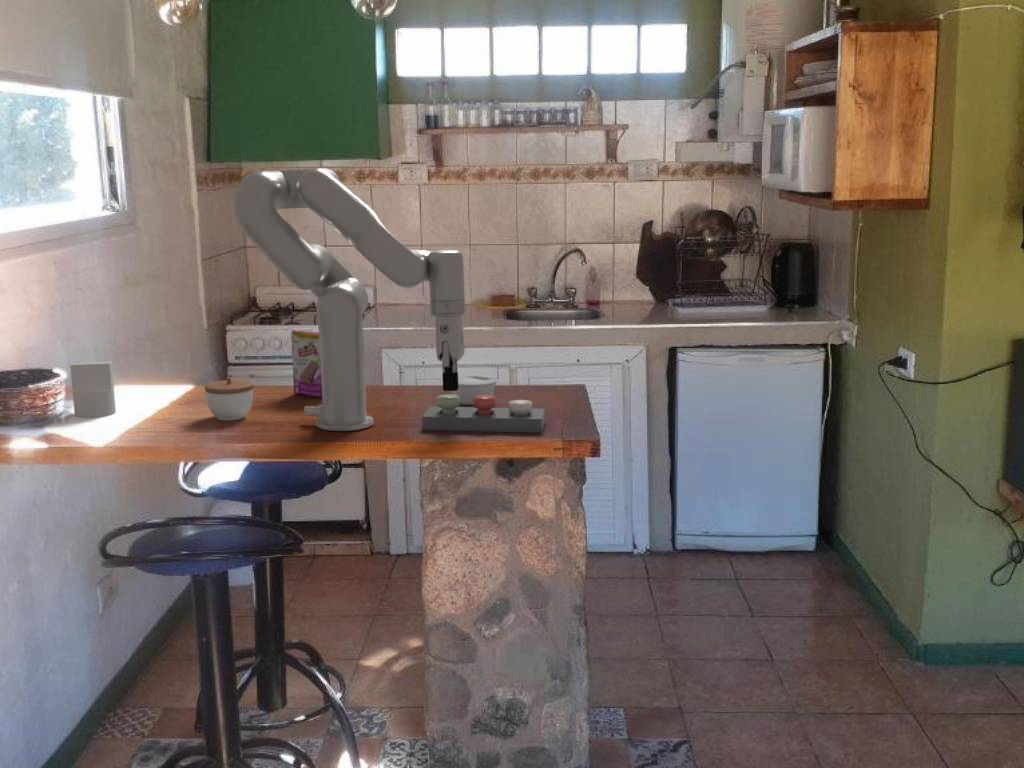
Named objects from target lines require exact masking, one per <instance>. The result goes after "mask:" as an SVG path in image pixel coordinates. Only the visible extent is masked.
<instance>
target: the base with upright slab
mask: <svg viewBox="0 0 1024 768" xmlns="http://www.w3.org/2000/svg"><path fill="white" fill-rule="evenodd" d="M69 368H70V377H71V390H72V400H73V413H74V417H76V418H78V419H96V418H97V419H98V418H104V417H109V416H112V415H115V414H116V412H117V410H116V399H115V397H116V396H115V387H114V385H115V384H114V374H113V361H111V360H109V361H108V360H107V361H85V362H71V363H70V366H69Z"/></svg>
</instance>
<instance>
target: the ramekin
mask: <svg viewBox="0 0 1024 768" xmlns="http://www.w3.org/2000/svg"><path fill="white" fill-rule="evenodd" d="M496 385H497V381H496V379H494V378H492V377H488V376H478V375H472V376H471V375H470V376H469V375H466V376H458V390H457V391H451V395H458V396H460V405H468V406H473V397H474V396H479V395H491V396H494V392H495V386H496Z"/></svg>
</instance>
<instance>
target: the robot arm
mask: <svg viewBox="0 0 1024 768" xmlns="http://www.w3.org/2000/svg"><path fill="white" fill-rule="evenodd" d="M341 180H342V179H341V178H340V176H339V175H338V174H337V173H336V172H335V171H333V170H331V169H330V168H326V167H314V168H308V169H307V168H306V169H284V170H283V169H277V170H274V169H273V170H272V169H271V170H256V171H253V172H250V173H248V174H247V175H245V176H244V177H243V178H242V179H241V181H240V182H239V184H238V185H237V188H236V191H235V195H234V203H233V206H234V213H235V217H236V218H235V219H236V220H237V224H238V225H239V227H240V229H241V230H242V232H243V233H244V235H245V236H247V238H248V239H249V240H250V241H251V243H253V244H254V246H255V247H256V248H257V249H259V251H260V252H261V253H262V254H263V255H264V256H265V257H266V258H267V260H268V261H269V262H270V263H271V264H272V265H273V266H274V267H275V268H276V269H277V270H278V271H279V272H280V273H281V274H282V275H283V277H284V278H286V280H287V281H288V282H289V283H290V284H291V285H292V286H294V287H295V288H297V289H299V290H302V291H307V290H309V291H310V292H311V293H312V294H313V295H314V297H316V298H317V303H316V319H317V326H318V329H317V330H319V339H320V357H321V380H322V398H321V399H322V400H321V401H322V404H319V405H318V406H313V405H305V406H304V411H303V412H304V415H306V417H317V418H318V419H316V421H315V424H316V425H315V426H316V428H319V429H320V430H324V431H331V432H350V431H351V432H352V431H359V430H364V429H367V428H369V427H372V425H374V418H373V417H372V416H371V415H367V397H366V396H367V395H366V371H365V370H366V367H365V366H366V364H365V362H366V361H365V360H366V359H365V343H364V329H363V327H364V326H363V315H364V314H365V312H366V309H367V308H368V304H369V296H368V292H367V290H366V288H365V286H364V285H363V283H362V282H360V280H358V278H357V277H356V276H354V274H353V273H352V272H351V271H350V270H349V269H348V268H347V267H346V266H345V265H344V264H343V263H342V262H341V260H339V259H338V258H337V257H336V256H335V255H334V253H332V252H331V250H328V249H327V248H326V247H324V246H323V245H321V244H317V243H309V242H308V241H307V240H306V239H305V238H304V237H302V235H301V234H299V232H298V231H296V229H295V228H294V227H293V226H292V225H291V224H290V223H289V222H288V221H287V220H286V219H284V218H283V217H282V216H281V214H279V212H278V210H285V209H307V208H308V209H309V210H311V211H312V212H313V213H314V214H316V216H318V217H319V218H321V220H323V221H324V222H325V223H326V224H328V225H329V226H330V227H331V228H332V229H334V230H335V231H336V232H337V233H338V234H339V235H340V236H342V237H343V238H344V239H345V240H346V241H348V243H349V244H350V245H351V246H352V248H354V249H355V250H356V251H357V252H359V253H360V254H361V255H362V257H363V258H365V259H366V260H367V261H368V262H369V263H370V264H371V265H372V266H373V267H375V268H376V269H377V270H378V271H379V272H381V273H382V275H384V276H385V277H386V278H388V279H389V280H390V281H391V282H393V283H394V284H395V285H397V286H399V287H401V288H405V289H413V288H416V287H417V286H419V285H420V284H421V283H427V282H428V284H429V285H428V286H429V308H430V316H433V317H435V346H436V347H435V348H436V349H435V350H436V359H437V360H438V361H439V362H441V367H442V368H441V369H442V374H441V375H442V389H443V391H444V392H452V391H457V390H458V377H459V372H458V362H459V360H461V359H462V358H463V357H464V355H465V353H466V352H465V351H466V350H465V340H464V339H465V337H464V324H463V317H462V316H463V315H466V305H465V304H466V303H465V302H466V300H465V295H466V294H465V271H464V255H463V253H462V252H461V251H459V250H456V249H438V250H434V251H432V250H423V249H414V248H413V249H409V248H408V247H407V246H405V245H404V244H403V243H402V242H400V241H399V239H397V238H396V237H395V236H394V235H393V234H392V233H390V231H389V230H388V229H387V228H386V227H385V226H384V224H383V223H382V222H381V220H380V218H379V216H378V215H377V213H376V212H375V211H374V210H373V208H371V206H369V205H368V204H367V203H366V202H365V201H363V200H362V199H361V198H359V197H358V196H357V195H356V194H354V192H352V191H351V190H350V189H349V188H347V187H346V186H345V185H344V184H343V182H342V181H341Z"/></svg>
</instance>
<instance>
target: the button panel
mask: <svg viewBox="0 0 1024 768" xmlns="http://www.w3.org/2000/svg"><path fill="white" fill-rule="evenodd" d="M545 419H546V409H545V408H536V407H535V408H533V407H532V412H531V413H527V416H524V415H514V413H510V412H509V407H494V408H491V415H478V409H477V408H474V407H473V406H472V407H471V406H459V407H456V408H455V414H442V408H440V407H437V406H434V405H433V406H429V407H428V409H427V410H426V411H425V413H424V414H423V415H422V417H421V422H422V427H421V428H422V431H442V430H445V431H446V432H451V431H453V432H496V433H497V432H498V433H507V432H508V433H542V432H543V429H544V426H545V423H546V420H545Z"/></svg>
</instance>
